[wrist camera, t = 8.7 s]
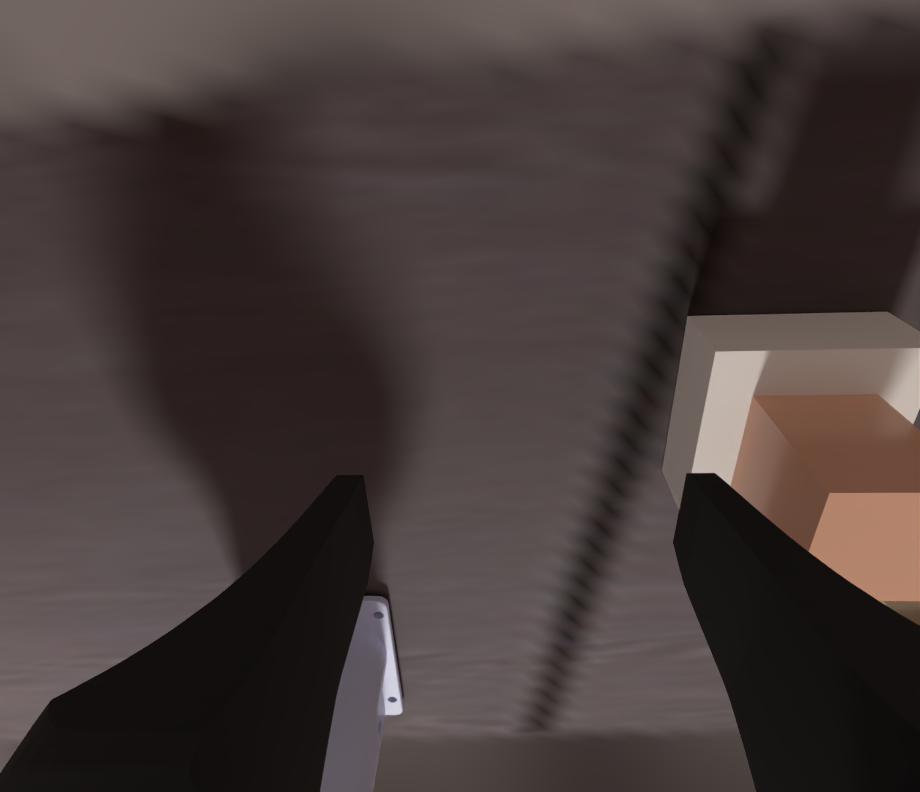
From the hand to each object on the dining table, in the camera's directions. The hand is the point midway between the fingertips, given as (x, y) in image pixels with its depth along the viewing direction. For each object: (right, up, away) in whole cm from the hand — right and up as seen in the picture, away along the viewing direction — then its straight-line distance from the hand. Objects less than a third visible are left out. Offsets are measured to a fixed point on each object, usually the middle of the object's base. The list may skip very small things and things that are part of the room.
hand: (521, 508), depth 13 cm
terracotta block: (+10, +1, +7) cm, 13 cm away
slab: (+11, +3, +10) cm, 14 cm away
